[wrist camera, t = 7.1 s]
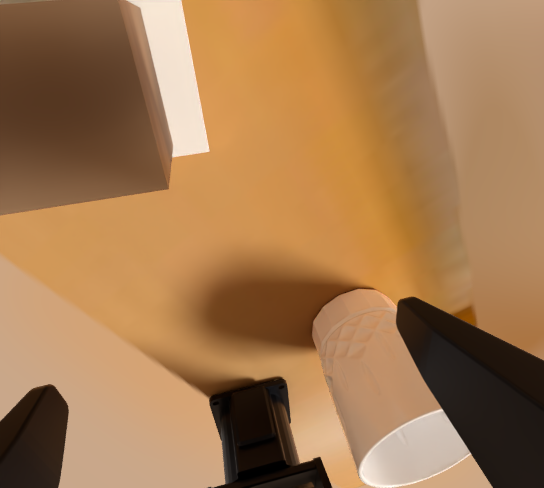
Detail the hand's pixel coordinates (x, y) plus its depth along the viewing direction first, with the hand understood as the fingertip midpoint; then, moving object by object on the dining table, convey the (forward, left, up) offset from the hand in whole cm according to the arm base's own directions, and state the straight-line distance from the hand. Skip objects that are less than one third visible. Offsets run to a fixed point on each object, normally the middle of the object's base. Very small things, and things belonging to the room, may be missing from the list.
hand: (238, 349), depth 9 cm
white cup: (-13, -9, -12) cm, 20 cm away
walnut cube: (+5, +4, -10) cm, 12 cm away
